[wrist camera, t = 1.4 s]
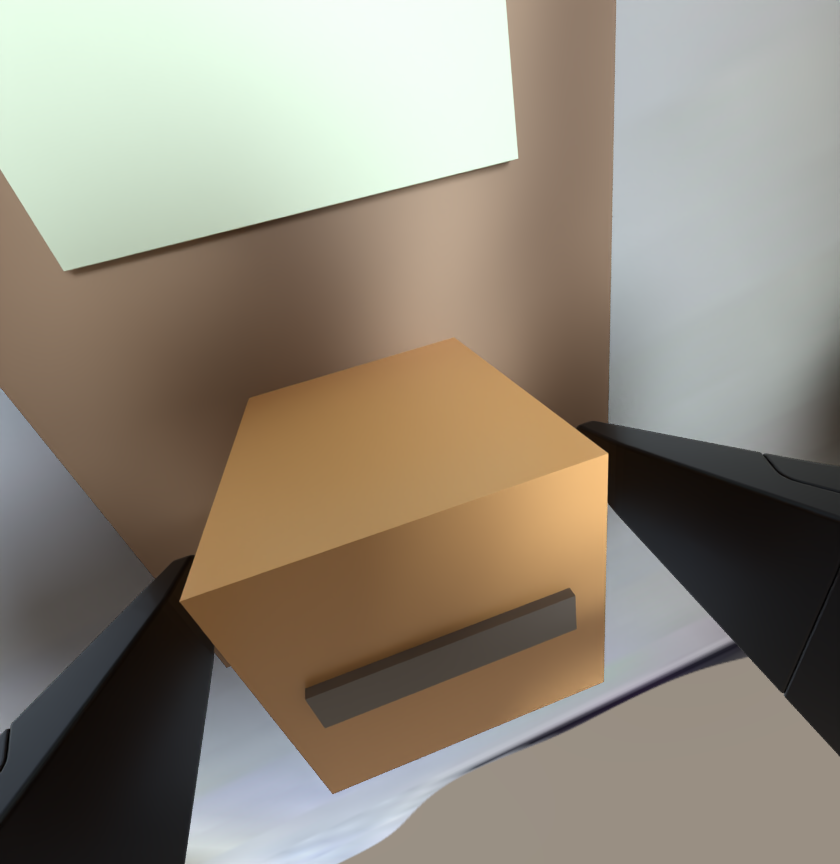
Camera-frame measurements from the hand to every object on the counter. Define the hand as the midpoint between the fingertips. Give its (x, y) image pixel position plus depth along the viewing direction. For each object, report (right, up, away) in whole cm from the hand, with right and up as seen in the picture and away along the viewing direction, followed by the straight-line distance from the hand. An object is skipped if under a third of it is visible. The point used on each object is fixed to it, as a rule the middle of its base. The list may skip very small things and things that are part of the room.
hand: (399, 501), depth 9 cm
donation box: (-1, +1, +2) cm, 2 cm away
